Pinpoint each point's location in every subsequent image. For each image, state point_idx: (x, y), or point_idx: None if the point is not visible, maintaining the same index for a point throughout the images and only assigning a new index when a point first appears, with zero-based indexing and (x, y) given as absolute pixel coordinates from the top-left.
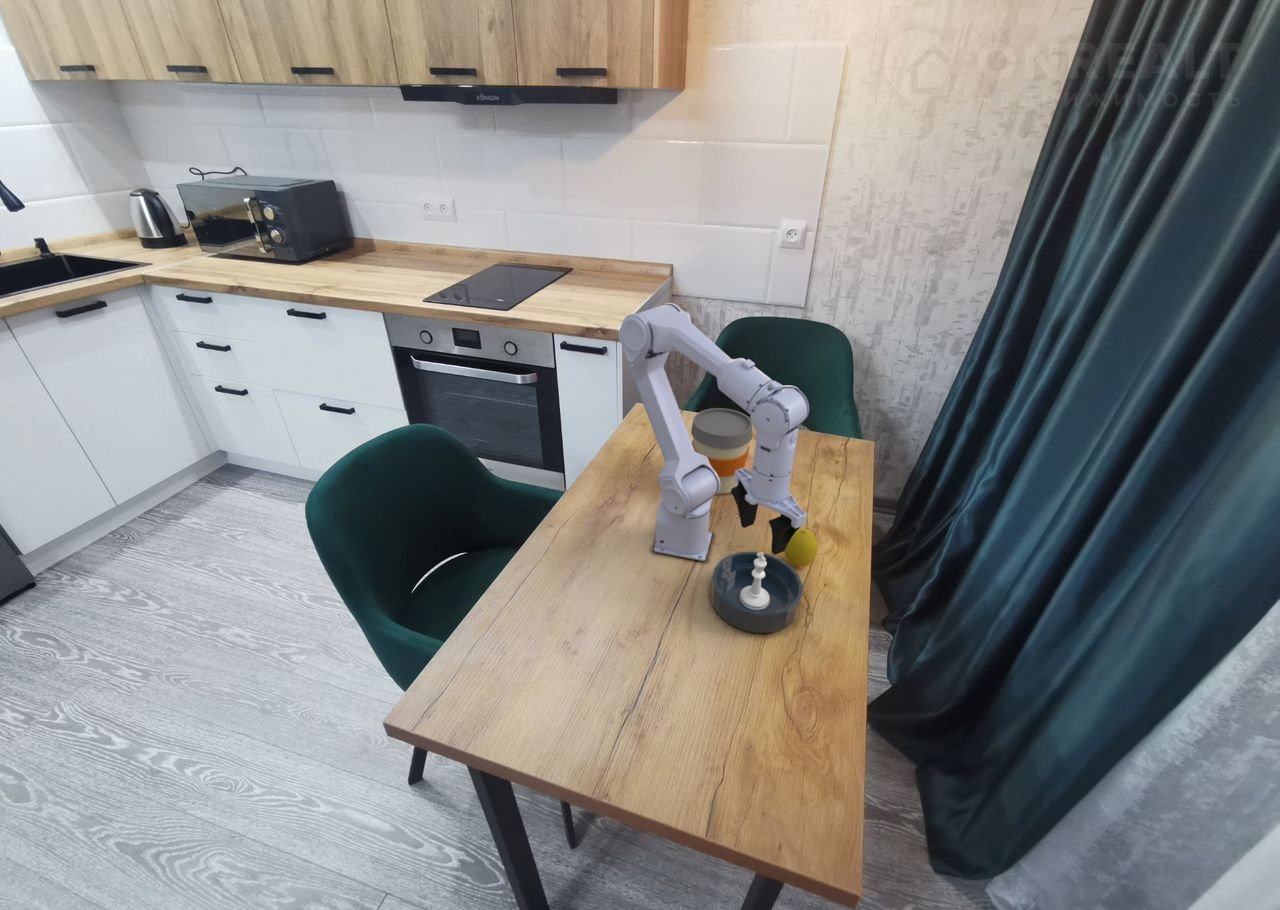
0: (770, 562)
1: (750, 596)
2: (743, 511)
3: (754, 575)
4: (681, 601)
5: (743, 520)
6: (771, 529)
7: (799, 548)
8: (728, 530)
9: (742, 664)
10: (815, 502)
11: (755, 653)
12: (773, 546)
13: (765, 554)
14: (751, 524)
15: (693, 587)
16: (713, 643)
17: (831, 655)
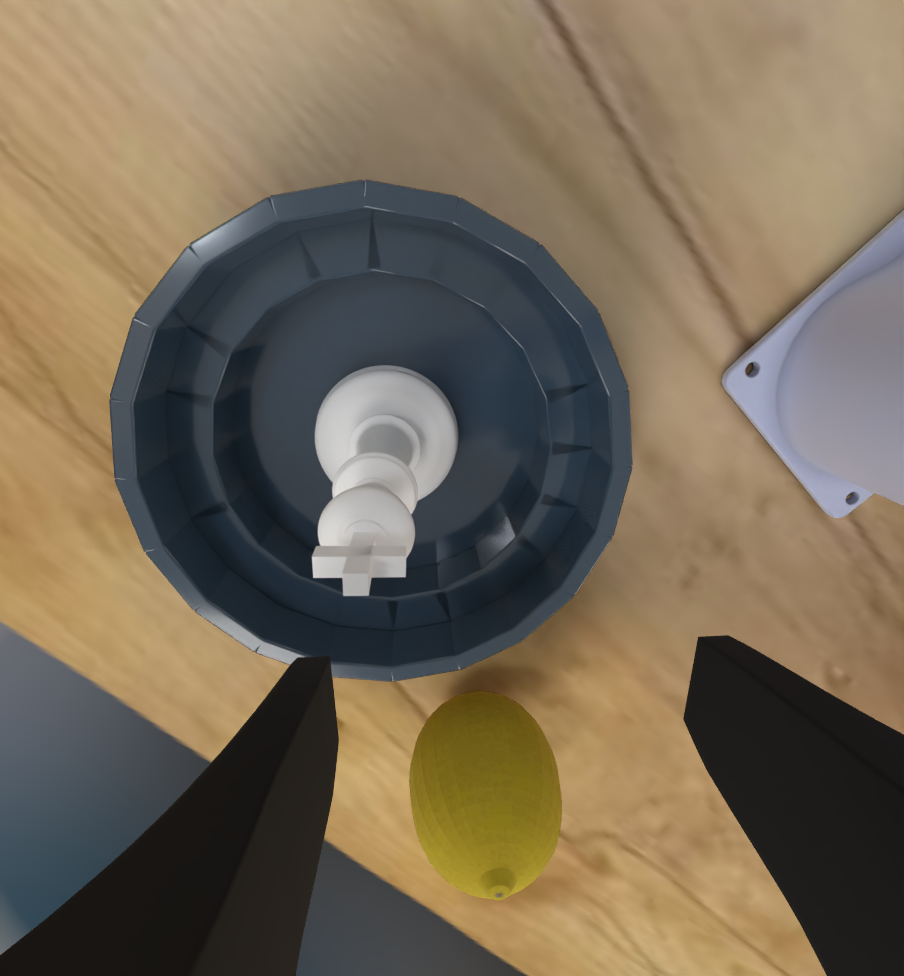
0: (486, 619)
1: (379, 412)
2: (848, 771)
3: (364, 458)
4: (568, 83)
5: (753, 684)
6: (196, 940)
7: (448, 785)
8: (796, 594)
9: (63, 123)
10: (691, 924)
11: (109, 234)
12: (276, 710)
13: (526, 629)
14: (689, 706)
15: (613, 216)
16: (238, 63)
17: (7, 527)
